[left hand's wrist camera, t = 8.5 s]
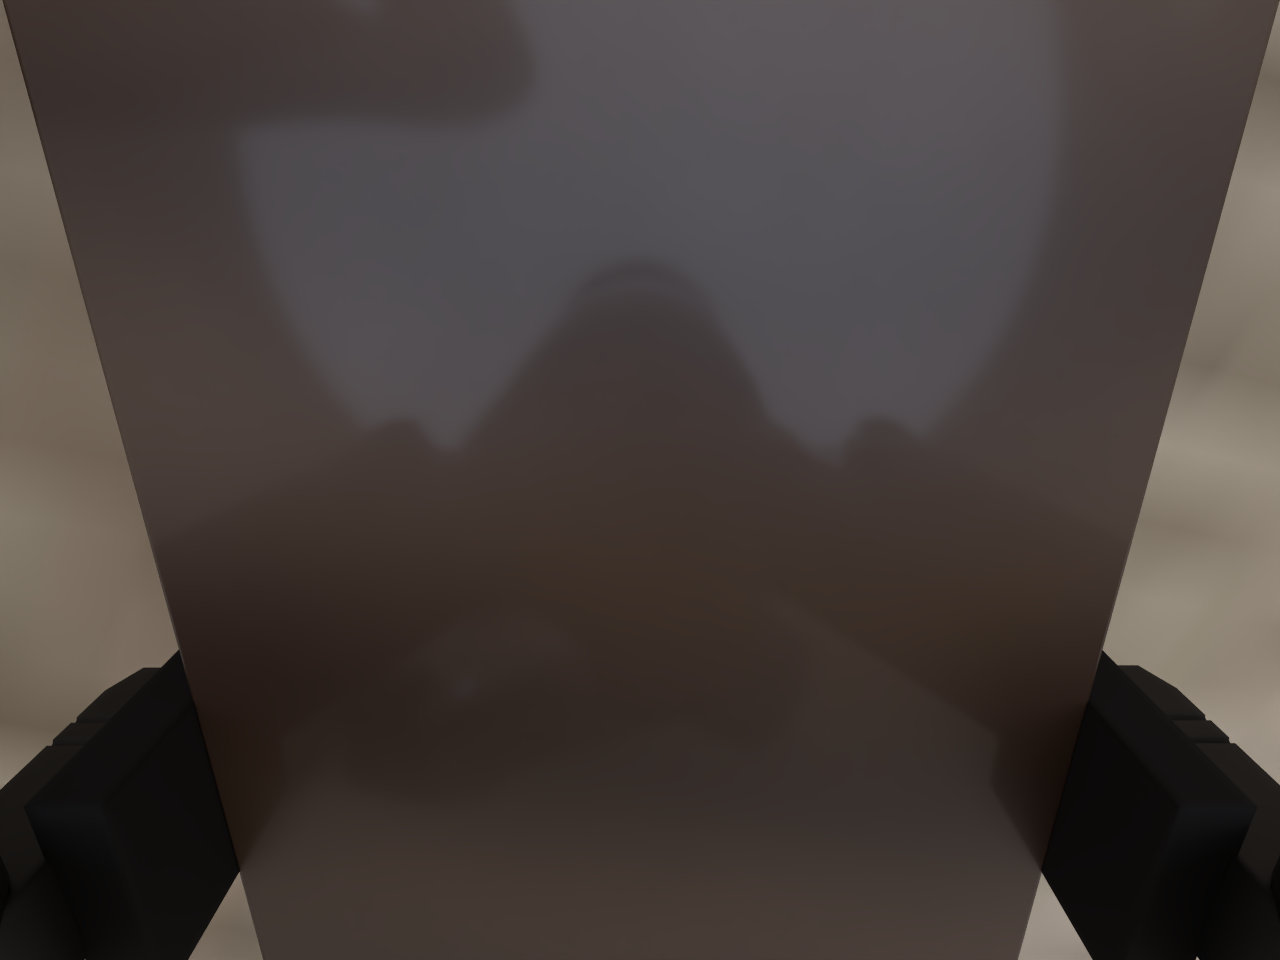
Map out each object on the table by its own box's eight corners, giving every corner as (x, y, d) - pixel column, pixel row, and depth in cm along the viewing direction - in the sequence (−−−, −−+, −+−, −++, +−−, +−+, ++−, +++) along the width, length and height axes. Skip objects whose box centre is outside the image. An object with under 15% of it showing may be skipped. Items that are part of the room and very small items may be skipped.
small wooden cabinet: (361, -392, 14) (-728, -2655, 3) (918, -392, 14) (2012, -2655, 3) (458, 567, 21) (265, 975, 10) (821, 567, 21) (1015, 975, 10)
